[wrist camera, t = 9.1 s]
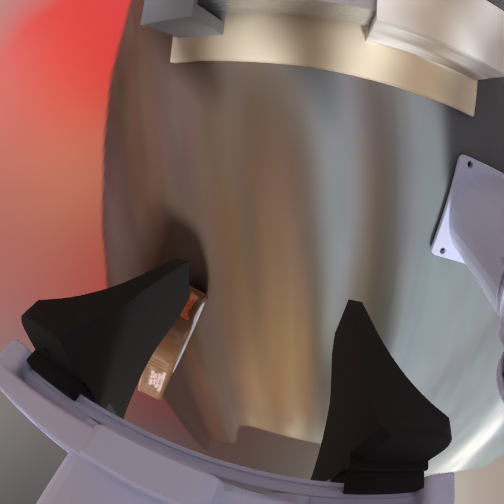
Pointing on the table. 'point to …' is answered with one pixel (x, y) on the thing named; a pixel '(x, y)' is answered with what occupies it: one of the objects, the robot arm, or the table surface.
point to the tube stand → (373, 46)
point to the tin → (172, 347)
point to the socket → (181, 18)
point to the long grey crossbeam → (299, 8)
